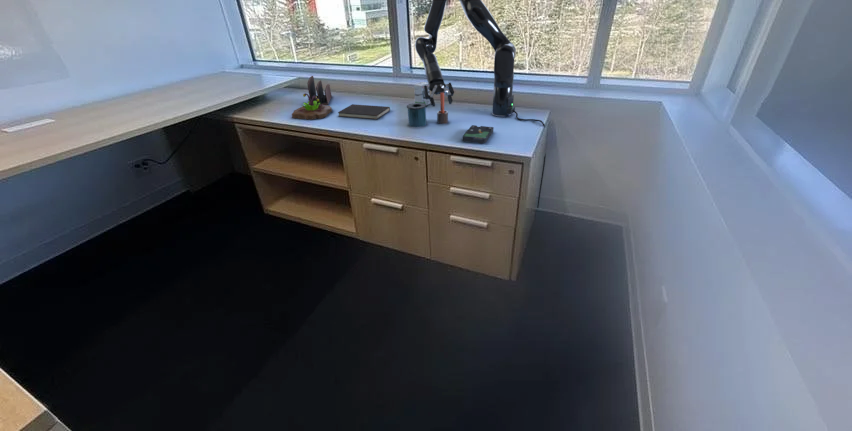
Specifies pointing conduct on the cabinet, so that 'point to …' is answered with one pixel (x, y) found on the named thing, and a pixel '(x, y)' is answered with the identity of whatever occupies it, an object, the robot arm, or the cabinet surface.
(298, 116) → the plant
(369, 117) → the hardcover book
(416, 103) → the tumbler lid
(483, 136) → the disk drive
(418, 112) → the tumbler
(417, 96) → the ink box
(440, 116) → the straw holder
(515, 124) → the cabinet surface
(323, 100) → the letter holder
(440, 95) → the straw
